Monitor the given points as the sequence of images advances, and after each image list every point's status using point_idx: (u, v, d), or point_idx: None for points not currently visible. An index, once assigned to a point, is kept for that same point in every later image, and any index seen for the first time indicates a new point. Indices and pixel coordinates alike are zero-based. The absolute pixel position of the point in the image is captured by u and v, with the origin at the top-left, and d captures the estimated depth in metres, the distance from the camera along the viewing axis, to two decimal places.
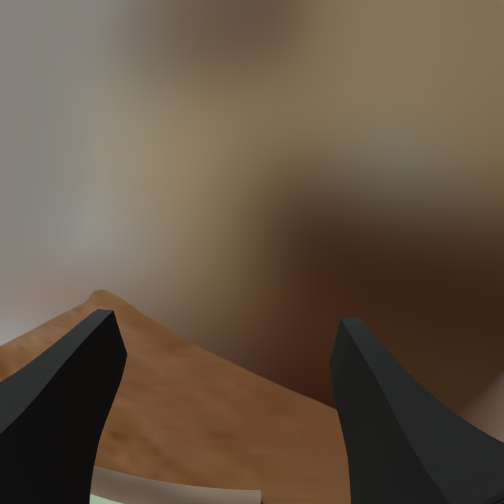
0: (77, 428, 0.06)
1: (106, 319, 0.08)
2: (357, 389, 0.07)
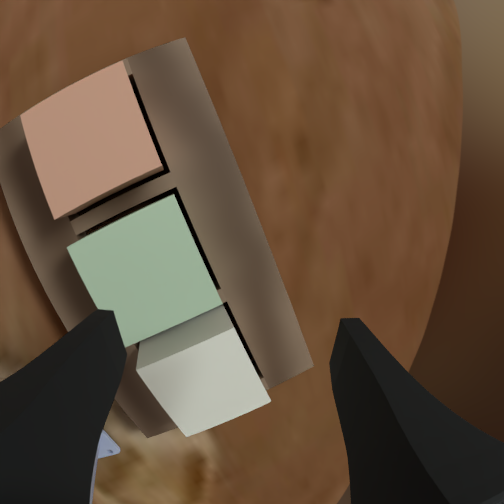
0: (77, 428, 0.06)
1: (106, 319, 0.09)
2: (357, 389, 0.07)
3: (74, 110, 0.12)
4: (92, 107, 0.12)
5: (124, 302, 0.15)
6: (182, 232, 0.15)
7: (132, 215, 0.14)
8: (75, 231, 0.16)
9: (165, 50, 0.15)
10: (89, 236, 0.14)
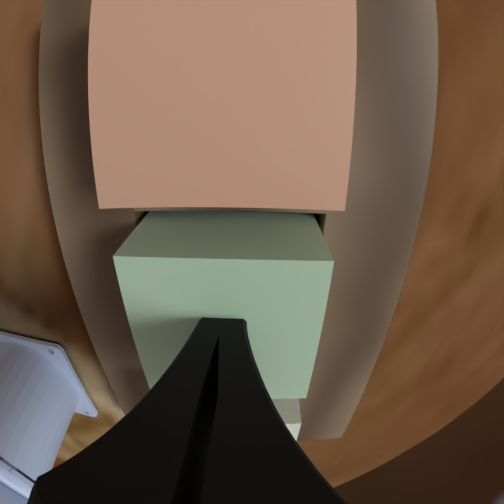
0: (204, 451, 0.06)
1: (220, 328, 0.08)
2: None
3: (213, 9, 0.05)
4: (255, 23, 0.05)
5: None
6: (312, 315, 0.09)
7: (249, 262, 0.08)
8: None
9: None
10: (158, 258, 0.08)
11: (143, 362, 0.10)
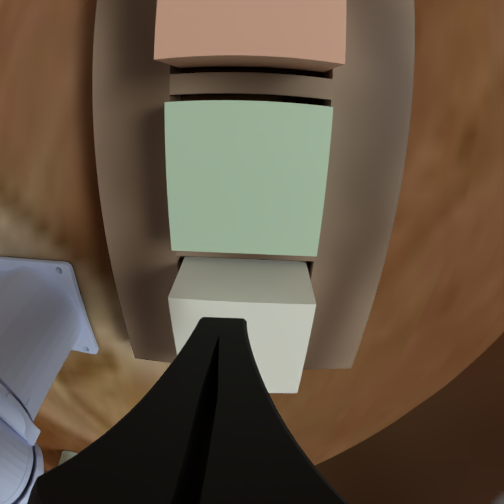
0: (204, 451, 0.06)
1: (221, 328, 0.08)
2: None
3: None
4: None
5: (204, 199, 0.12)
6: (319, 154, 0.11)
7: (270, 103, 0.10)
8: (170, 89, 0.11)
9: None
10: (201, 102, 0.10)
11: (170, 211, 0.12)
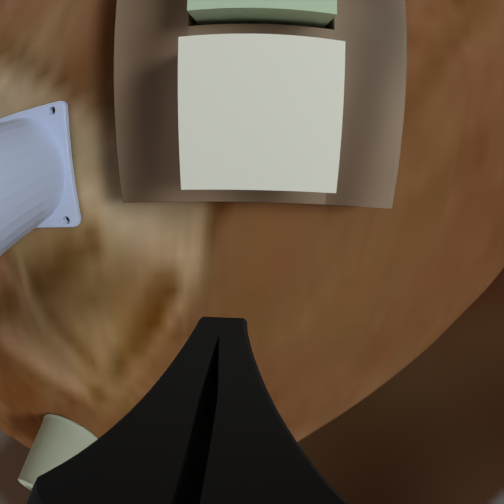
0: (204, 451, 0.06)
1: (221, 328, 0.08)
2: None
3: None
4: None
5: None
6: None
7: None
8: None
9: None
10: None
11: None
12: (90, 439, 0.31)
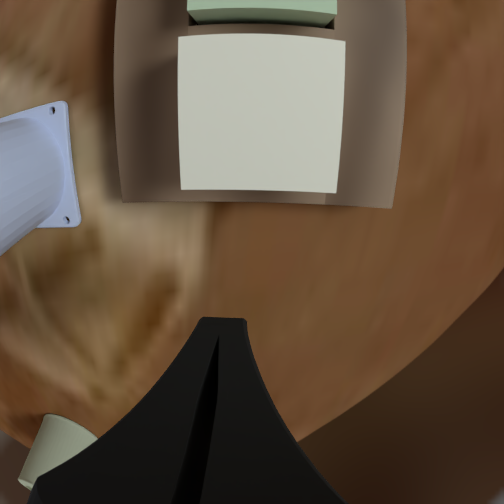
0: (204, 451, 0.06)
1: (221, 328, 0.08)
2: None
3: None
4: None
5: None
6: None
7: None
8: None
9: None
10: None
11: None
12: (90, 439, 0.31)
